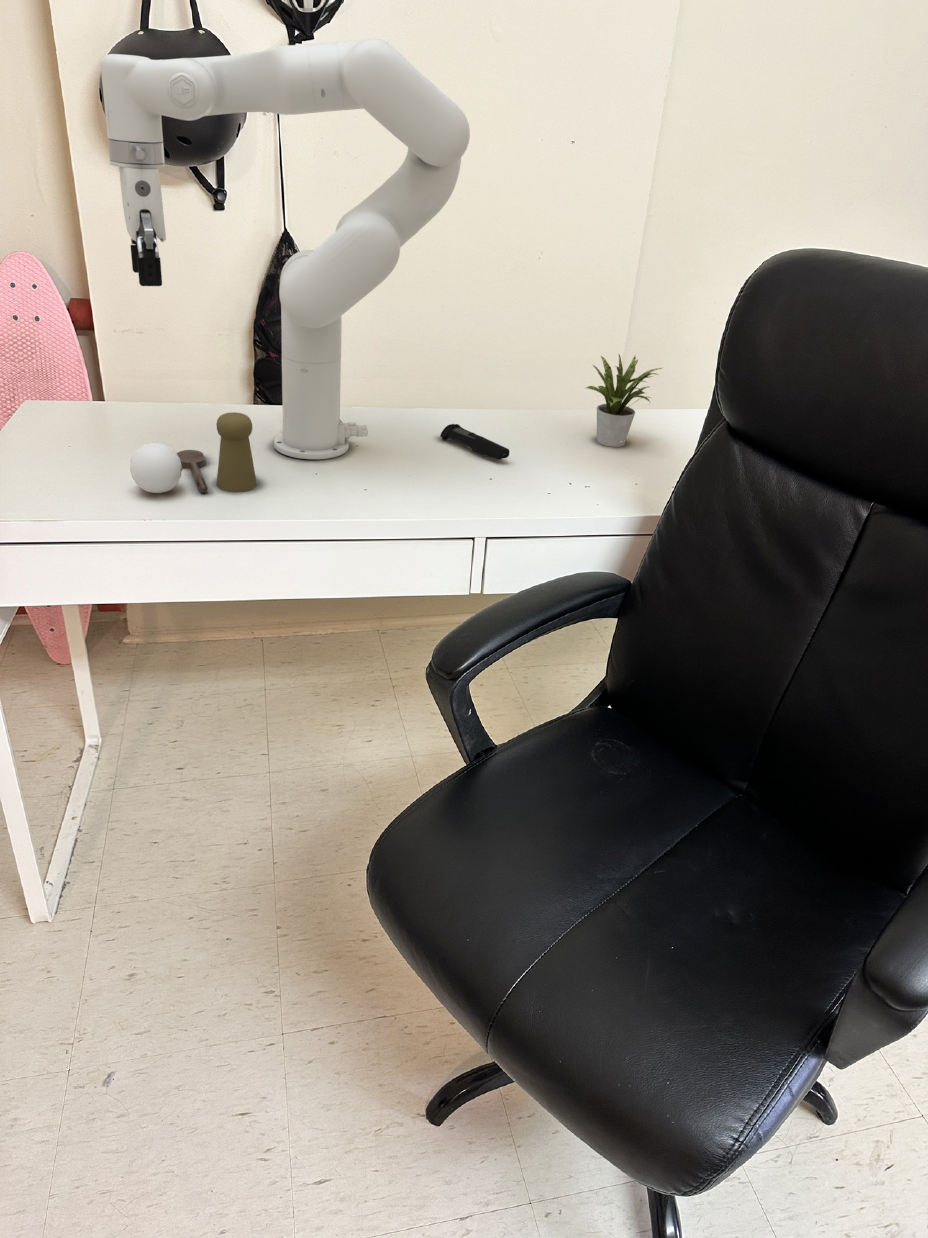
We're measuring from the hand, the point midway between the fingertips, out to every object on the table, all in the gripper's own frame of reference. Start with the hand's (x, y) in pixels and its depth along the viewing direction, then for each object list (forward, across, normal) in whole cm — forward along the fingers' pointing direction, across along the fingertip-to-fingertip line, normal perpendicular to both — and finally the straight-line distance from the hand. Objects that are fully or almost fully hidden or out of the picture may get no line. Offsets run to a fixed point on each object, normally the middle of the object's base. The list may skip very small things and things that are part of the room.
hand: (147, 278), depth 144 cm
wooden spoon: (+26, -14, -4) cm, 30 cm away
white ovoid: (+26, -19, +3) cm, 33 cm away
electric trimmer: (+26, -12, -52) cm, 59 cm away
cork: (+26, -20, -9) cm, 34 cm away
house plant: (+26, -14, -79) cm, 84 cm away
